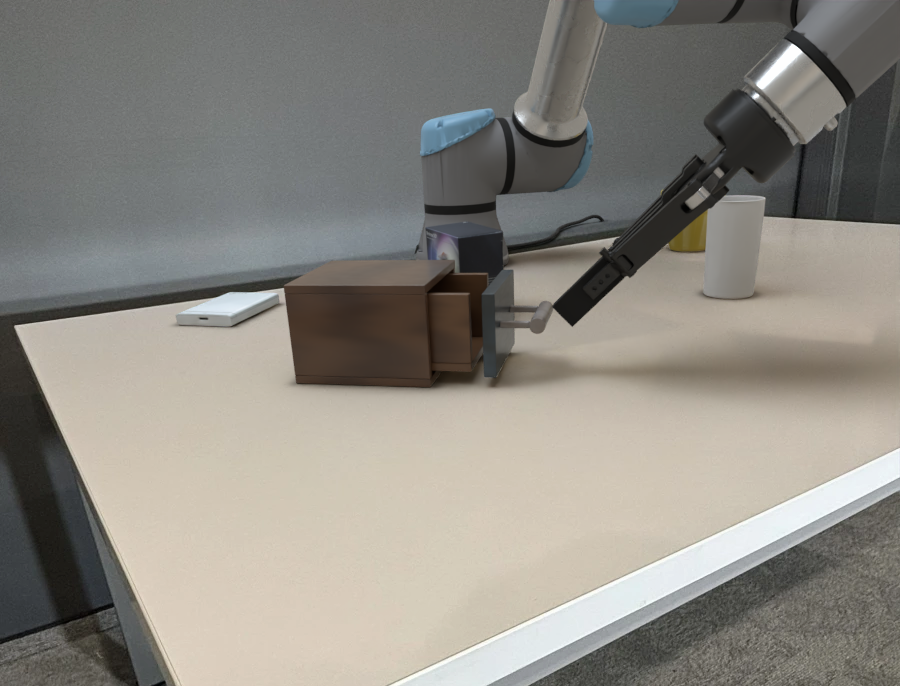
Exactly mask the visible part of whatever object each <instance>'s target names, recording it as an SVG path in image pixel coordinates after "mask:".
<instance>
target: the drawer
mask: <svg viewBox="0 0 900 686" xmlns="http://www.w3.org/2000/svg"><path fill="white" fill-rule="evenodd" d="M427 300H428V318H429V335H430V352H431V370H432V371H442V372H465V373H466V372H467V373H471V372H472V371H473V370H474V368H475V366H476V365H477V364H478V362H479V360H480V359H481V357H483V358H482V359H483V361H482V364H483V378H485V379H486V378H489V379H490V378H491V379H496V378H497V377H498V376H499V374H500V372H501V370H502V368H503V366H504V364H505V362H506V361H507V360H508V357H509V355H510V354H511V351H512V349H513V348H514V346H515V344H516V341H515V340H516V338H515V337H516V336H515V335H516V334H515V331H516V330H515V329H529V331H530V332H532V334H536V335H539V334H542V333H543V332H544V331H545V329H546V327H547V325H548V323H549V320H550V318H551V316H552V314H553V311H554V308H553V307H552V306H553V303H552V302H551V301H549V300H542V301H541V302H540V303H539V304H538V305H515V270H514V269H513V268H511V269H507V268H506V269H504V270H502V271H501V272H500V273H499V274H498V275H497V277H496V278H495V279H494V280H493V281H492V282H491V284H490V285H489V283H488V273H448V274H447V275H446V276H445V277H444V278H442V279H441V280H440V281H439V282H438V283H437V284H436V285H435V286H433V287H432V288H431V289H430V290H429V291H428V292H427ZM515 313H522V314H523V313H527V314H528V313H531V314H532V313H534V314H533V315H532V317H531V319H530V320H515Z"/></svg>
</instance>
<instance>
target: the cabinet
mask: <svg viewBox="0 0 900 686" xmlns="http://www.w3.org/2000/svg"><path fill="white" fill-rule="evenodd" d="M448 273H455V260H416V259H373V260H372V259H369V260H367V259H365V260H364V259H363V260H361V259H360V260H359V259H357V260H348V259H347V260H342V259H341V260H330V261H328V262H326V263H324V264H322V265H320V266H318V267H316V268H315V269H312V270H311V271H308V272H306V273H305V274H302V275H301V276H298V277H297V278H295V279H293V280H291V281H289V282H288V283H286V284H284V285H283V294H284V299H285V308H286V315H287V323H288V331H289V332H288V333H289V339H290V345H291V355H292V361H293V370H294V375H295V376H294V378H295V382H296V383H295V384H309V385H311V384H314V385H345V386H346V385H347V386H377V387H411V388H414V387H415V388H431V387H432V386H433V384H434V383H435V382H436V380H437V379H438V378H439V377H440V375H441V373H442V372H443V371H432V370H431V352H430V335H429V318H428V300H427V292H428V291H429V290H430V289H431V288H432V287H433V286H435V285H436V284H437V283H438V282H439V281H440V280H441V279H442V278H444V277H445V276H446V275H447V274H448Z"/></svg>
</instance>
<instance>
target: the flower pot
mask: <svg viewBox="0 0 900 686" xmlns="http://www.w3.org/2000/svg"><path fill="white" fill-rule="evenodd" d="M661 193H662V190H660V194H661ZM725 196H727V194H726V195H725ZM707 214H708V210H706V211H705V212H704V213H703V214H701V215H700V216H699V217H698V218H696V219H695V220H694V221H693V222H692V223H690V224H689V225H688V226H687V227H686V228H685V229H684V230H682V231H681V232H680V233H679V234H678V235H677V236H676V237H674V238H673V239H672V240H671V241H670V242H669V243H668V248H669V250H670V251H674V252H681V253H693V252H694V253H696V252H703V251H705V249H706V232H707Z"/></svg>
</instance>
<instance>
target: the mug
mask: <svg viewBox="0 0 900 686" xmlns="http://www.w3.org/2000/svg"><path fill="white" fill-rule="evenodd" d="M766 199H767V198H766V197H764V196H761V195H748V194H747V195H746V194H745V195H743V194H742V195H741V194H734V195H733V194H732V195H726V196H724V197H723V198H722V199H721V200H719V201H718V202H717V203H716V204H715V205H714V206H713V207H712V208H711V209H710V208H709V209H708V214H707V232H706V249H705V250H704V251H705V252H704V265H703V267H704V268H703V286H702V287H703V289H702V291H703V292H702V293H703V295H704V296H706V297H709V298H714V299H720V300H721V299H723V300H739V299H746V298H750V297H752V296H753V295H754V293H755V286H756V278H757V273H758V272H757V271H758V265H759V257H760V247H761V242H762V241H761V240H762V234H763V225H764V220H765V219H764V217H765V209H766Z"/></svg>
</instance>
